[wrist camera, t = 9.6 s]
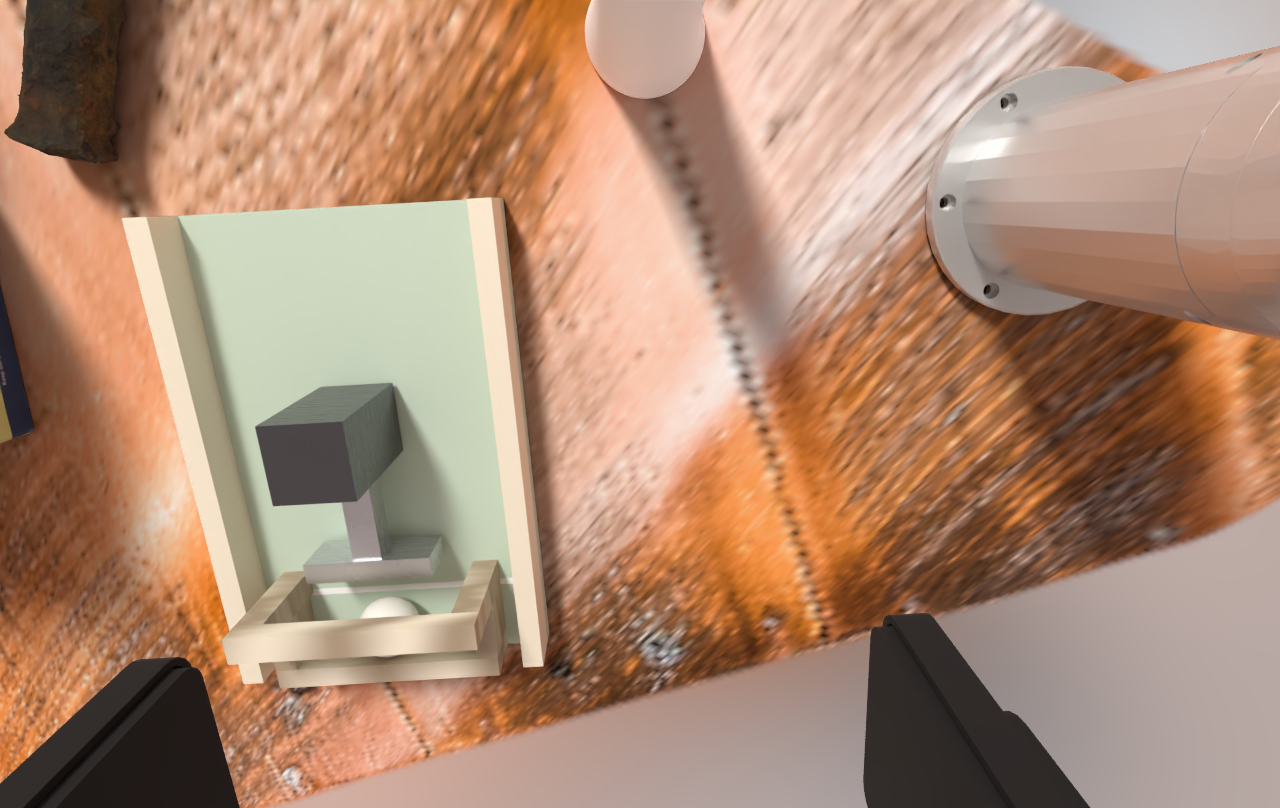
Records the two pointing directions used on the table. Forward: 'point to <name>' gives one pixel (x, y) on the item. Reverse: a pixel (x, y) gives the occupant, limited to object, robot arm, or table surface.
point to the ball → (389, 609)
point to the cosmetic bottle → (645, 43)
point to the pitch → (350, 355)
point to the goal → (373, 637)
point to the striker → (345, 480)
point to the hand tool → (69, 78)
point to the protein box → (11, 387)
